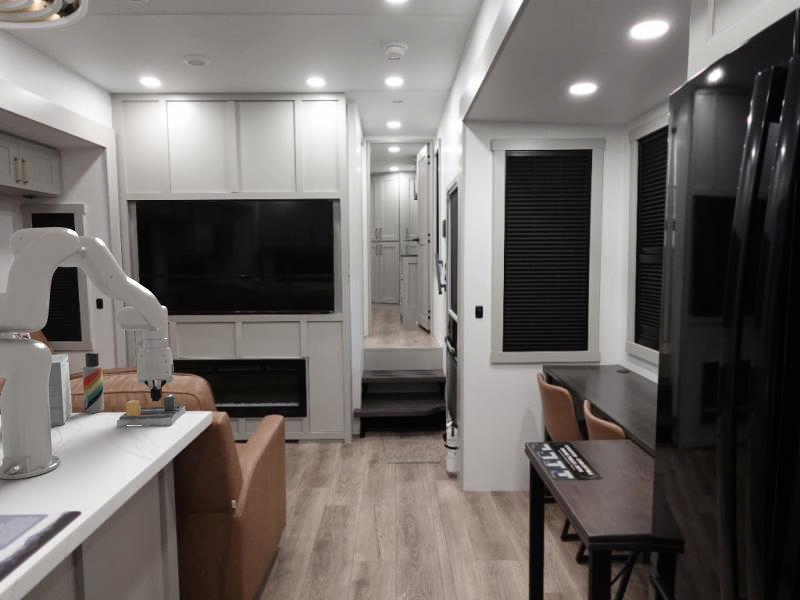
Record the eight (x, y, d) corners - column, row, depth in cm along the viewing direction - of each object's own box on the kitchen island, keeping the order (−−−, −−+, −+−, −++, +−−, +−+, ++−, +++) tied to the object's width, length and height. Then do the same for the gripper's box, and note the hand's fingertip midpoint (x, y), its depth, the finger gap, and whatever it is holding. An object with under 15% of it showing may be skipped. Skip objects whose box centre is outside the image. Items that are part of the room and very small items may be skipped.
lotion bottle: (80, 412, 173) (77, 353, 171) (95, 408, 178) (92, 350, 177) (93, 414, 171) (91, 354, 170) (108, 409, 176) (105, 351, 175)
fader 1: (136, 417, 160) (136, 402, 160) (126, 417, 160) (125, 402, 159) (140, 414, 163) (139, 399, 163) (130, 414, 163) (129, 400, 162)
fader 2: (174, 410, 167) (173, 396, 167) (164, 411, 167) (163, 396, 166) (177, 408, 170) (176, 394, 170) (167, 408, 170) (167, 394, 169)
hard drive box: (44, 415, 170) (41, 355, 169) (72, 412, 173) (69, 353, 172) (34, 428, 156) (31, 363, 155) (64, 425, 159) (61, 361, 158)
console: (171, 424, 159) (171, 416, 159) (117, 427, 157) (116, 418, 157) (185, 412, 173) (185, 404, 173) (135, 413, 171) (135, 406, 171)
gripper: (126, 345, 162) (127, 403, 162) (175, 345, 163) (176, 402, 164) (135, 342, 169) (136, 398, 170) (183, 342, 171) (184, 397, 172)
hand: (156, 400), depth 167 cm, fingers closed
